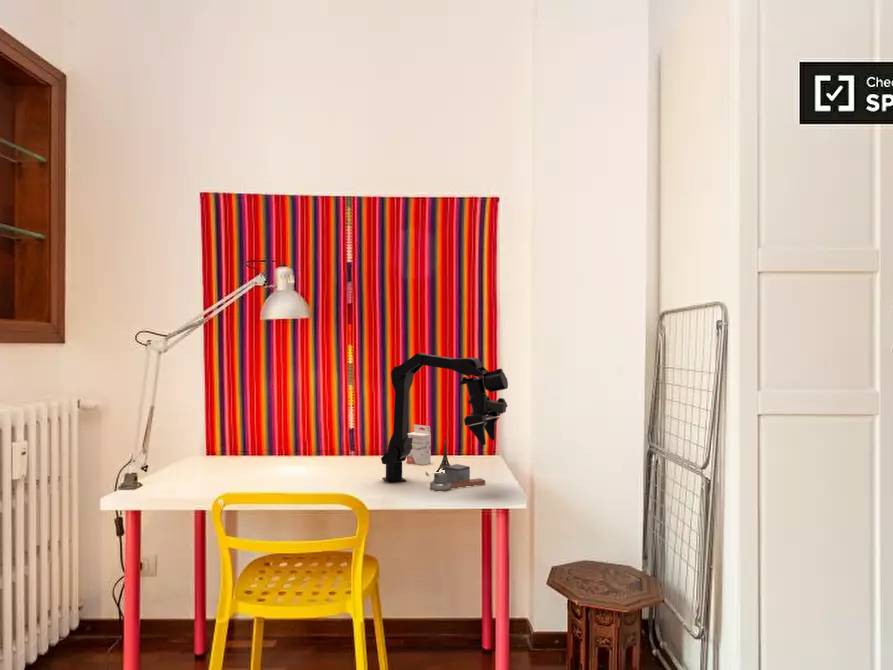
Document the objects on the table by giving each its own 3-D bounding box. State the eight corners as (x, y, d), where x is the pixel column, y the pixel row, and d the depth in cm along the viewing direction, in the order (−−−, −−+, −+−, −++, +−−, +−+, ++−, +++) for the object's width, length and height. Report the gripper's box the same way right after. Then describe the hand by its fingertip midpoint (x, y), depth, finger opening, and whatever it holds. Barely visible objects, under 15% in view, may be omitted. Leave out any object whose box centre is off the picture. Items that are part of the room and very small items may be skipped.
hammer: (435, 492, 200) (435, 476, 200) (426, 487, 206) (426, 472, 206) (488, 486, 209) (488, 471, 209) (477, 481, 215) (477, 467, 215)
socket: (445, 481, 215) (445, 466, 215) (456, 478, 220) (456, 464, 220) (458, 484, 211) (458, 469, 211) (469, 481, 216) (469, 466, 216)
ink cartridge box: (406, 463, 246) (406, 425, 247) (413, 461, 251) (413, 424, 251) (424, 465, 242) (424, 427, 242) (431, 463, 246) (431, 425, 246)
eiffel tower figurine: (462, 470, 237) (462, 434, 237) (468, 475, 227) (468, 439, 227) (423, 471, 234) (423, 435, 234) (426, 477, 224) (427, 439, 224)
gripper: (491, 392, 194) (502, 442, 192) (509, 388, 211) (520, 433, 209) (458, 400, 198) (469, 448, 196) (478, 394, 215) (489, 439, 213)
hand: (488, 442), depth 204 cm, fingers open, 9 cm apart
